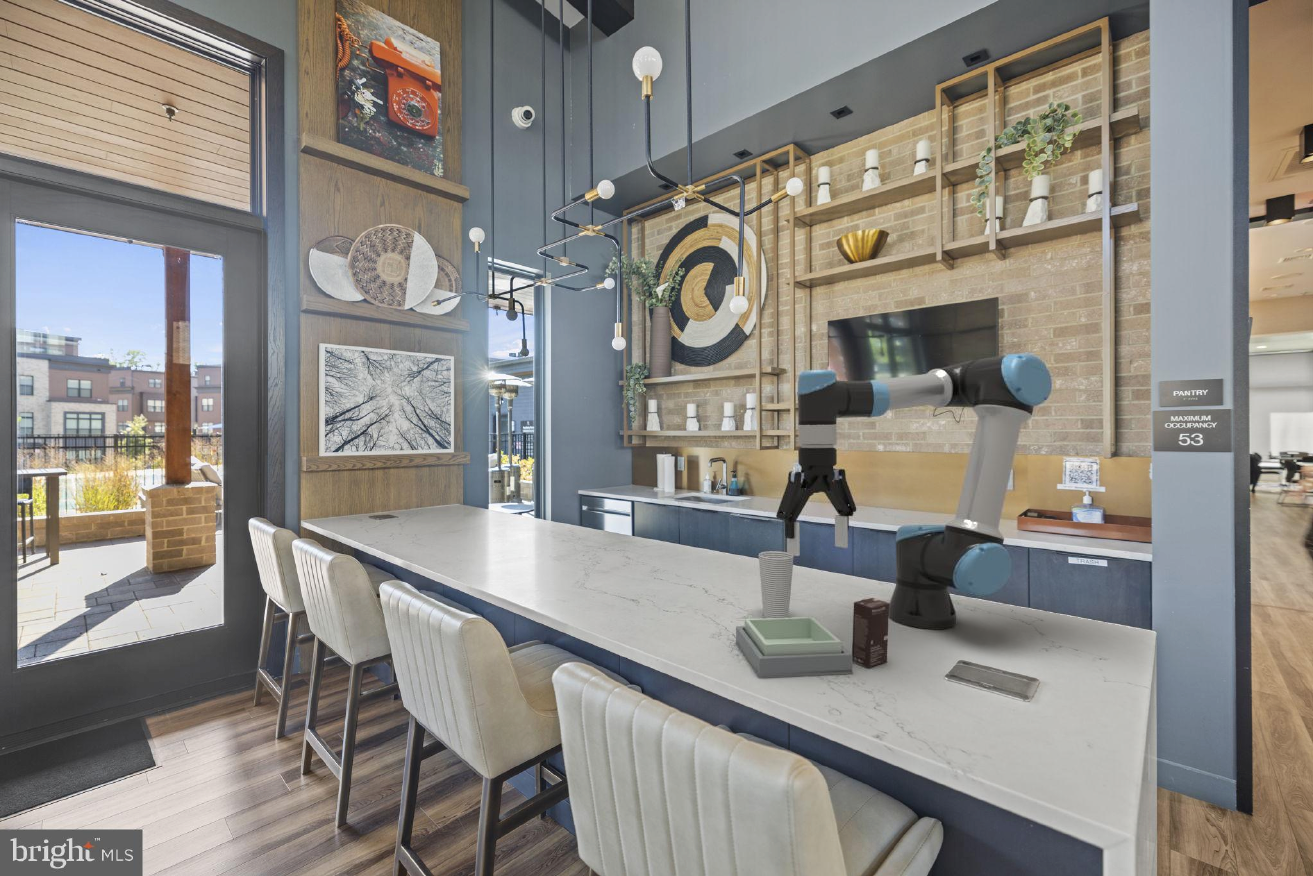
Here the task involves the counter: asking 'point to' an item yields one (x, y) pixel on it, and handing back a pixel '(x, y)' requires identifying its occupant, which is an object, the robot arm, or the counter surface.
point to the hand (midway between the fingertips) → (818, 550)
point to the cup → (776, 583)
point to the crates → (792, 648)
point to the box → (870, 632)
